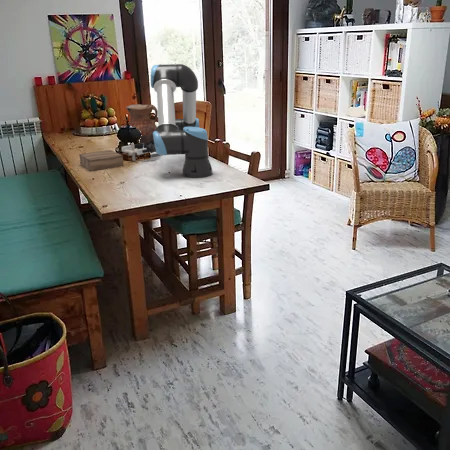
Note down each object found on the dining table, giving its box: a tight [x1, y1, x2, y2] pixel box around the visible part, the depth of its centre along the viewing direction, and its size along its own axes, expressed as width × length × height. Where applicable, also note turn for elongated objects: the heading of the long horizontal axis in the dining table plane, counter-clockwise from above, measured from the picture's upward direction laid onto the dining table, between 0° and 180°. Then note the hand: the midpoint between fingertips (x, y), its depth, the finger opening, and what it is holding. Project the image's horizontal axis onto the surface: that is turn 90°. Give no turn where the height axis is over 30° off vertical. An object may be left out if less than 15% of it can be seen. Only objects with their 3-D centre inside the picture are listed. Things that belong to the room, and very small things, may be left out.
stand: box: [79, 149, 124, 172], centre depth 255 cm, size 18×18×6 cm
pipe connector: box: [123, 143, 139, 162], centre depth 264 cm, size 10×10×10 cm
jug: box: [125, 103, 158, 143], centre depth 306 cm, size 22×21×25 cm
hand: (129, 151), depth 262 cm, fingers open, 13 cm apart
